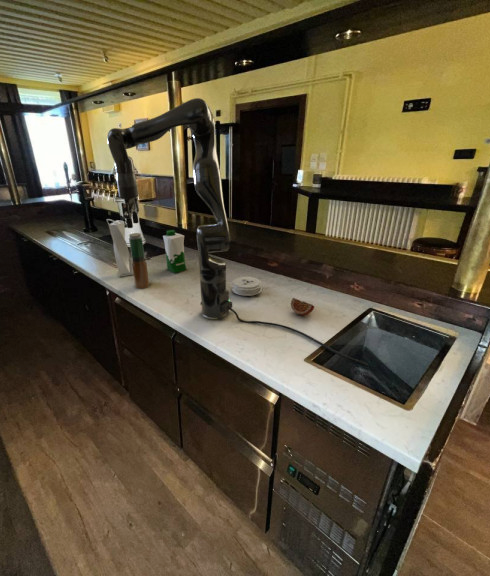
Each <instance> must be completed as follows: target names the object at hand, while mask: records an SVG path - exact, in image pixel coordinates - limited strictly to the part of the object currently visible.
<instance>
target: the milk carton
mask: <svg viewBox="0 0 490 576" xmlns="http://www.w3.org/2000/svg"><path fill="white" fill-rule="evenodd" d="M162 238H163V242H164V243H163V244H164V249H165V260H166V270H167V271H168V272H171V273H173V274H177V273H180V272H183V271H186V270H187V265H186V259H185V244H184V242H185V241H184V240H185V235H183V234H181V233H177V232H176V231H175V229H167V230H166V234H165V235H162Z"/></svg>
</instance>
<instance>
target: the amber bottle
mask: <svg viewBox="0 0 490 576" xmlns="http://www.w3.org/2000/svg"><path fill="white" fill-rule="evenodd" d="M131 259H132V269H133V275H132V276H133V282H134V286H135V288H136V289H147V288H148V287H149V286H150V279H149V271H148V264H147V260H146V259H145V255H144V256H142V257H138V258H134V257H132V256H131Z"/></svg>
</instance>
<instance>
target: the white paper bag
mask: <svg viewBox="0 0 490 576" xmlns="http://www.w3.org/2000/svg"><path fill="white" fill-rule="evenodd" d="M109 221H111V223H109ZM106 222H107V224H108V229H109V232H110V235H111V239H112V243H113V244H112V245H113V246H112V247H113V255H114V260H115V263H116V267H117V270H118V274H119V278H125V277H130V276H131V277H132V276H134V275H133V269H132V257H131V253H130V250H129V247H128V244H127V241H126V227H125V221H123V220H121V219H120V220H118V219H117V220H113V219H110V218H107V219H106Z"/></svg>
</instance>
